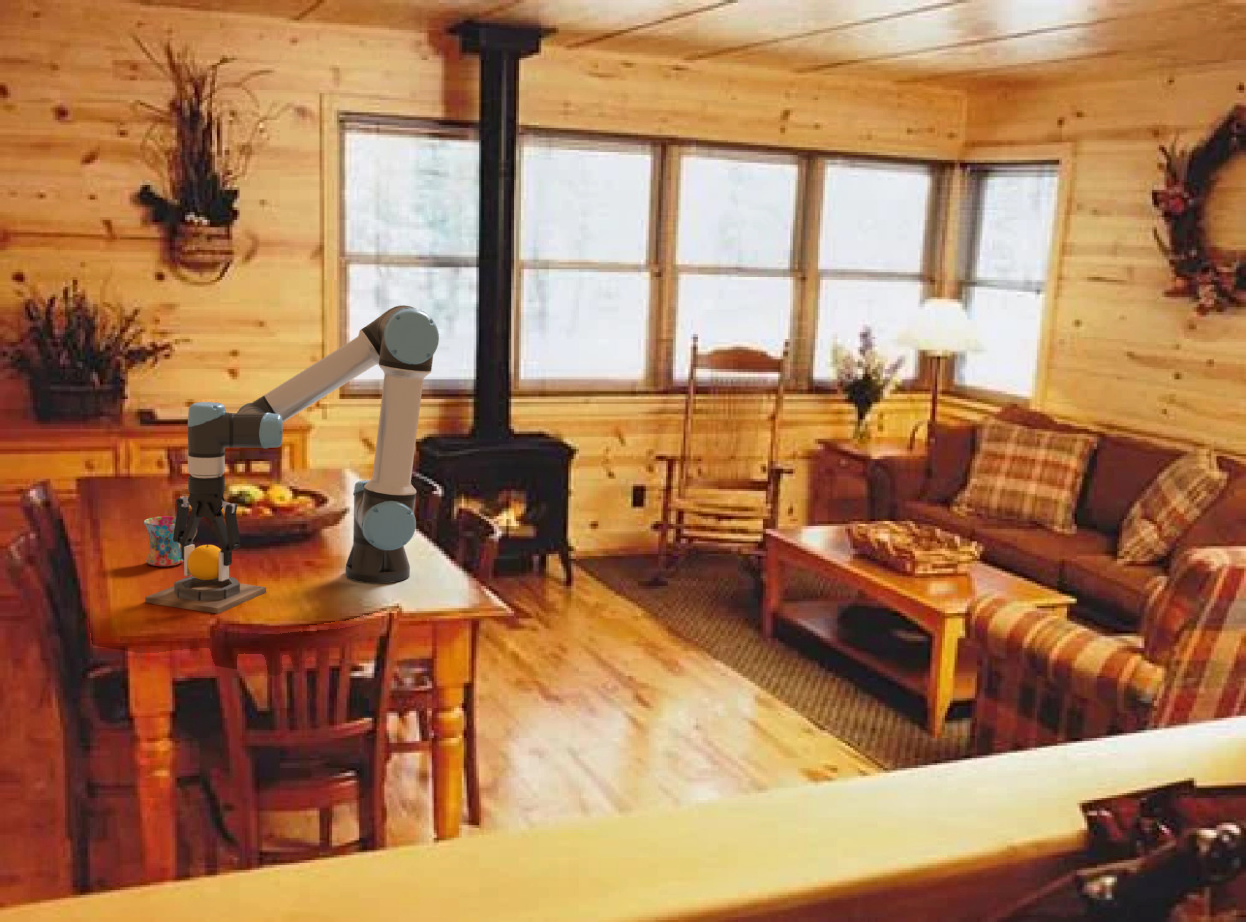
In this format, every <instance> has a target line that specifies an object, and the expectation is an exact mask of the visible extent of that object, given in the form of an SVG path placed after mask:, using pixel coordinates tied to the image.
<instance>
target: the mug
mask: <svg viewBox="0 0 1246 922" xmlns="http://www.w3.org/2000/svg"><path fill="white" fill-rule="evenodd" d="M175 522H176V516H171V515H170V516H154V517H149V518H147V519H144V520H143V524H144V526H145V528H146V531H147V533H148V537H149V552H148V556H147V558H146V563H147V564H148V565H151V566H154V567H173V566H177V565H180V564H181V563H184V560H182V557H181V555H182V554H181V545H180V543H178V542H174V541H173V535H174V528H175ZM186 526H187V525H186ZM197 534H198V529H197V530H196V532H195V535H194V537H193V540H194V539H195V537H196V536H197Z"/></svg>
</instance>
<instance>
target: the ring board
mask: <svg viewBox="0 0 1246 922" xmlns="http://www.w3.org/2000/svg"><path fill="white" fill-rule="evenodd" d="M264 594H267V587H266V586H262V585H253V584H246V583H242V582H241V583H240V582H239V581H238V579H237V578H236V577H233V576H229V579H226V580H224V581H219V577H218V578H215V579H211V580H201V579H197V578H195V577H194V576H192V575H189V576H186V577H184V578H182V579H178V580H177V581H174V582H173V586H171V587H168V588H164V589H163V590H161V591H158V592H154V593H152V594H149V595H147V596H145V598H144V599H145V600H144V602H145V603H146V604H152V605H160V606H164V607H165V606H166V607H174V608H178V609H184V610H192V611H198V612H206V613H211V614H212V613H213V614H218V615H219V614H220V613H222V612H225V611H227V610H230V609H232V608H234V607H237V606H238V605H241V604H243V603H245V602H248V601H250V600H252V599H254V598H257V597H259V596H261V595H264Z"/></svg>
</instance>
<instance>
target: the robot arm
mask: <svg viewBox="0 0 1246 922" xmlns="http://www.w3.org/2000/svg"><path fill="white" fill-rule="evenodd" d="M438 329H439V328H438V326H437V324H436V322H435V320H434V319H433V318H432V317H431V316H430V315H429V314H428V313H427V312H425V311H424V310H422V309H419V308H416V307H414V306H410V305H397V306H394V307H392V308H389V309H388V310H386V311H385V312H383V313H382V314H381V315H379V316H378V317H377V318H376V319H374V320H373V321H371V322H370V323H369V324H367V325H366V326H364V327H363V328H361V329H360V330H359V332H358V336H357V337H355V338H353V339H352V340H350V341H349V342H347V343H346V344H344V345H342V346H341V347H339V348H337V349H335V350H334V351H332V352H331V353H330V354H327V355H326V356H325V357H323V358H321V359H320V360H317V361H316V362H315V363H313V364H312V365H310V366H309V367H306V368H305V369H304V370H302V371H300V372H299V373H297V374H296V375H294V376H292V377H291V378H289V379H287V380H286V381H285V382H283V383H281V384H280V385H278V386H276V387H275V388H273V389H272V390H270V391H269V392H267V393H265V394H264V395H262V396H261V397H259V398H257V399H256V400H253V401H252V402H248V403H246V404H243V405H242V406H241V407H240V408H239V410H238V411H237V412H227V411H226V408H225V407H226V406H225V404H223V403H220V402H212V401H211V402H210V401H201V402H200V401H199V402H195V403H192V404H191V405H190V406H189V407H188V415H187V416H188V417H187V453H188V454H187V473H188V474H189V476H188V477H187V490H188V491H187V492H189V494H188V497H187V496H183V497H179V498H176V501H175V503H176V510H177V511H176V516H175V517H176V522H175V528H174V535H173V541H174V542H178V543H180V546H181V548H180V549H181V554H182V555H181V557H182V560H184V561H183V565H184V566H183V567H184V568H183V570H184V571H183V572H184V574H183V576H184V577H190V576H192V575H191V573H190V571H189V569H188V558H189V555H190V554H191V552H192V551H193V550H194V549H195V548H196V545H195V544H193V543H194V541H193V540H194V539H193V537H194V535H195V532H196V530H197V531H198V527H199V524H200V522H201V519H202V518H205V519H209V522H210V523H211V524H212V526H213V530H214V532H215V535H216V537H217V540H218V542H219V546H220V547H221V548H220V549H221V551H219V581H224V580H226V579H229V577H230V566H231V565H232V563H233V551H234V550H236V549H238V548H240V547H241V539H240V533H239V531H240V530H239V525H238V519H237V511H238V503H236V502H233V503H230V502H227V501H226V499H225V497H224V496H225V495H224V494H225V490H226V476H224V473H225V472H226V468H225V467H226V466H225V465H226V463H225V461H226V456H225V455H226V451H225V450H226V448H228V449H229V448H231V449H233V448H255V449H256V448H257V449H259V448H260V449H264V450H265V449H269V448H280V447H281V446H282V445H283V438H284V437H283V433H284V432H283V431H284V430H283V423H285V422H287V421H288V420H290V419H291V418H293V417H294V416H296V415H297V414H299V413H301V412H302V411H304V410H305V409H307V408H309V407H310V406H312V405H314V404H315V403H317V402H319V401H320V400H321V399H324V398H325V397H326V396H328V395H329V394H331V393H333V392H334V391H336V390H337V389H339V388H341V387H342V386H344V385H345V384H348V383H349V382H351V381H352V380H354V379H355V378H357V377H358V376H360V375H362V374H363V373H364V372H367V371H369V370H370V369H371V368H373V367H375V366H376V365H377V366H378V367H379V368H380V369H381V370H382V372H383V373H384V375H383V385H382V393H381V400H380V402H381V403H380V410H379V419H378V429H377V435H376V444H375V445H376V446H375V452H374V459H373V461H374V462H373V470H372V478H371V479H370V480H367V479H366V480H359V481H357V482H356V483H355V484H354V488H353V489H354V491H353V493H352V495H353V533H352V534H353V540H352V541H353V543H352V546H351V549H350V552H349V555H348V557H347V558H348V559H347V561H346V564H345V569H344V575H345V577H346V579H349V580H351V581H354V582H360V583H366V584H367V583H368V584H386V583H388V584H389V583H390V584H391V583H395V582H401V581H404V580H406V579H408V578H410V576H411V567H410V562H409V559H408V556H407V552H406V549H405V547H404V546H406V545H407V544H408V543H409V542H411V539H412V538H413V537H414V535H415V532H416V526H417V521H416V520H417V519H416V517H415V505H416V498H417V489H416V488H415V487H414V485H412V481H411V480H412V477H413V475H412V473H413V466H414V457H415V451H416V441H417V433H418V427H419V426H418V425H419V419H420V418H419V416H420V409H421V401H422V393H423V384H424V379H425V378H426V377H427V376H428V375H429V374H431V373H432V369H433V368H432V367H433V360H434V355H435V353H436V351H437V350H438V346H439V342H440V338H439V337H440V336H439V335H440V334H439V330H438ZM190 507H191V511H189V509H190ZM189 512H190V514H189ZM223 513H224V514H223ZM188 516H189V519H188ZM224 520H225V521H224ZM186 525H187V526H186ZM194 538H195V537H194Z"/></svg>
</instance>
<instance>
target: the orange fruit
mask: <svg viewBox="0 0 1246 922" xmlns="http://www.w3.org/2000/svg"><path fill="white" fill-rule="evenodd" d="M221 550H222V548H219V547H218V546H217V545H214V544H202V545H199V546H197V547H195V549H194V550H193V551H192V552H191V554H190V555H189V558H188V569H189V571H190V573H191V575H190V576H194V577H195V578H197V579H201V580H211V579H215V578H218V577H219V551H221Z"/></svg>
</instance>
